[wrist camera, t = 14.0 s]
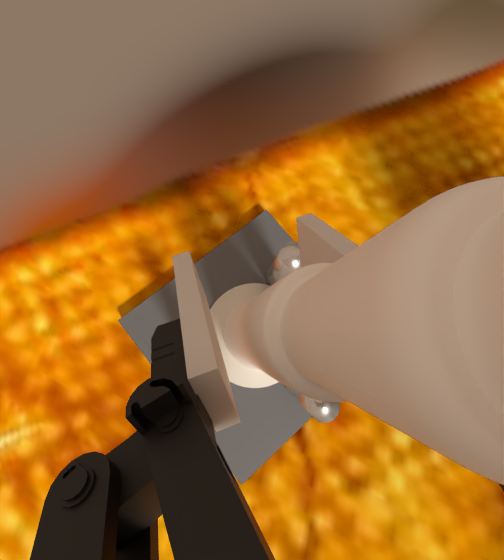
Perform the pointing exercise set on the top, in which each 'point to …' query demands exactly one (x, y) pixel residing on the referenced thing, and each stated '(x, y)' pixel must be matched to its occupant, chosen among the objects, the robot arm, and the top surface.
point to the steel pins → (279, 269)
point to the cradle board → (244, 382)
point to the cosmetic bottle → (399, 327)
